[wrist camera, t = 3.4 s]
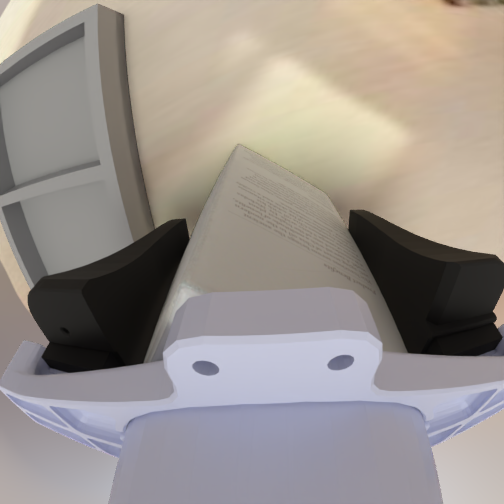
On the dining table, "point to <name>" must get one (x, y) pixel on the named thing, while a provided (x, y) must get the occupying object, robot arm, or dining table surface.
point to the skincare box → (270, 245)
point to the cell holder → (70, 147)
